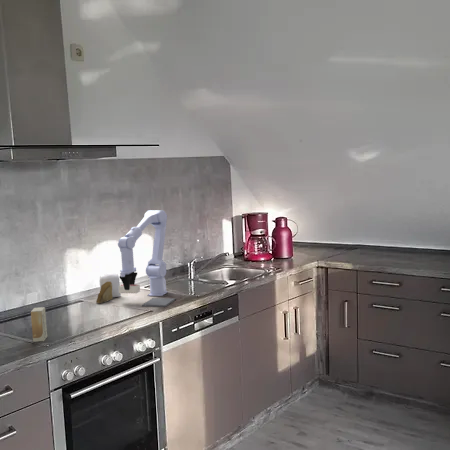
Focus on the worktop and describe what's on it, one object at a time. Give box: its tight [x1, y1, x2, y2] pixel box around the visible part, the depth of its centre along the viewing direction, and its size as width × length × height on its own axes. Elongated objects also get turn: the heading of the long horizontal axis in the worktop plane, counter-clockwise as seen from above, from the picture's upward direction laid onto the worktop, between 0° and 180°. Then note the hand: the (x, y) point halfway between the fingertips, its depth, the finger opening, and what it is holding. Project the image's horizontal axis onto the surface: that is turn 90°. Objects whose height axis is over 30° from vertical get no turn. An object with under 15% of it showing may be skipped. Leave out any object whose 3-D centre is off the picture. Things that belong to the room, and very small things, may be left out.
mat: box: [141, 297, 176, 308], centre depth 276 cm, size 14×12×1 cm
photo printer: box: [99, 273, 122, 299], centre depth 294 cm, size 10×4×12 cm, turn 114°
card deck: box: [119, 284, 141, 294], centre depth 280 cm, size 5×9×4 cm, turn 76°
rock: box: [96, 281, 113, 304], centre depth 286 cm, size 11×9×10 cm
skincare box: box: [30, 306, 48, 343], centre depth 223 cm, size 6×4×12 cm
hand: (129, 288), depth 280 cm, fingers closed on card deck, 5 cm apart
